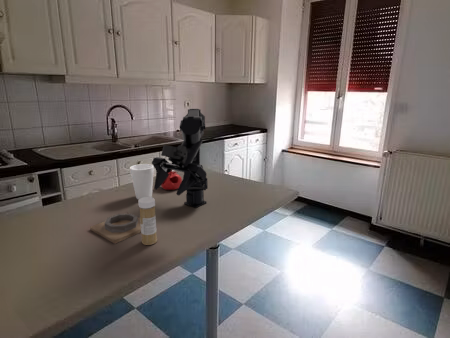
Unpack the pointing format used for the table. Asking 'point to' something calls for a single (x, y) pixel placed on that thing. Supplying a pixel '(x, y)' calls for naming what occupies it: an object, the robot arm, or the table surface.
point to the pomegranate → (172, 181)
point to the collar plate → (115, 235)
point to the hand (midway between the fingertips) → (166, 191)
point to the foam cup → (142, 179)
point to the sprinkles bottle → (148, 220)
